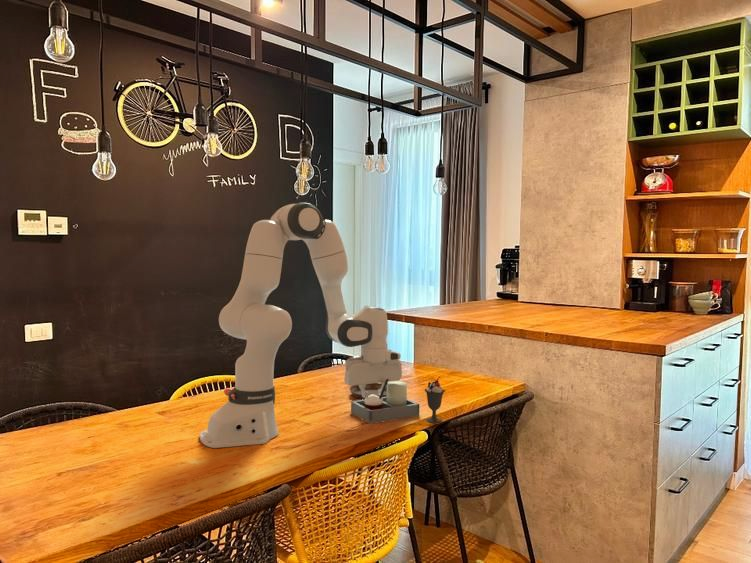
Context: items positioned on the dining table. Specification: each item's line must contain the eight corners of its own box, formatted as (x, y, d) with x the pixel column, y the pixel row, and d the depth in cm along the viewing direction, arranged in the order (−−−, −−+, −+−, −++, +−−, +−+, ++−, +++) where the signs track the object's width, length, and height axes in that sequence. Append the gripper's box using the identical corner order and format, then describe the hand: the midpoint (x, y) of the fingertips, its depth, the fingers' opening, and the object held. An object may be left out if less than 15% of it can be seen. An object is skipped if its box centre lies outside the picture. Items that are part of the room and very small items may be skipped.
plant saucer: (386, 405, 201) (386, 396, 201) (341, 399, 208) (341, 391, 207) (402, 393, 217) (402, 385, 217) (360, 388, 224) (360, 381, 224)
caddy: (369, 423, 178) (369, 392, 178) (351, 413, 190) (351, 383, 189) (419, 416, 187) (419, 386, 187) (398, 406, 199) (399, 378, 198)
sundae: (443, 424, 179) (444, 378, 178) (422, 423, 180) (423, 376, 179) (445, 418, 185) (446, 373, 184) (425, 417, 186) (426, 372, 186)
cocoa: (357, 414, 186) (356, 378, 186) (370, 409, 191) (368, 374, 190) (379, 418, 180) (378, 382, 180) (392, 413, 185) (390, 378, 184)
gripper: (350, 359, 177) (349, 402, 178) (404, 354, 188) (403, 394, 188) (341, 355, 183) (340, 397, 184) (394, 350, 193) (394, 390, 194)
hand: (373, 396), depth 186 cm, fingers open, 5 cm apart
